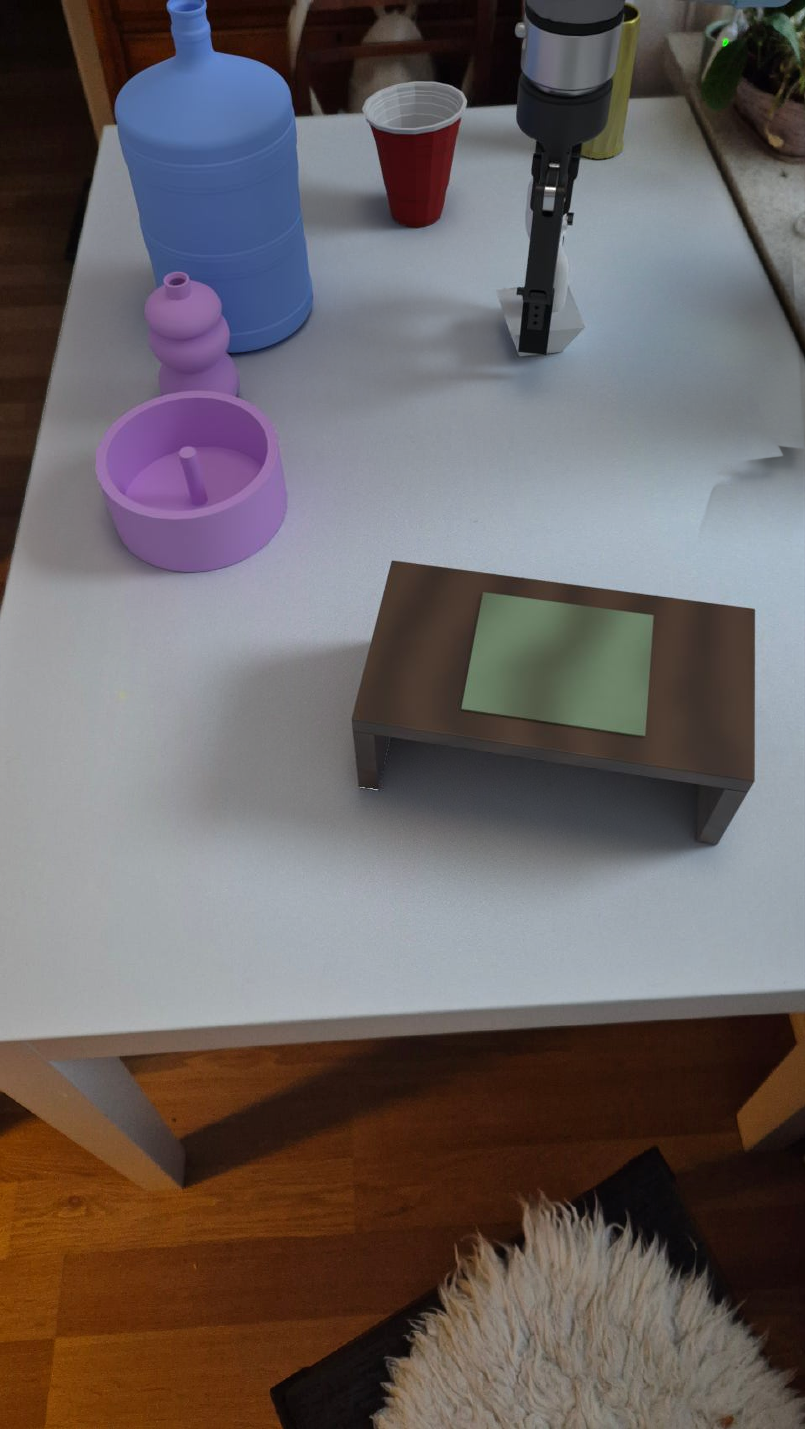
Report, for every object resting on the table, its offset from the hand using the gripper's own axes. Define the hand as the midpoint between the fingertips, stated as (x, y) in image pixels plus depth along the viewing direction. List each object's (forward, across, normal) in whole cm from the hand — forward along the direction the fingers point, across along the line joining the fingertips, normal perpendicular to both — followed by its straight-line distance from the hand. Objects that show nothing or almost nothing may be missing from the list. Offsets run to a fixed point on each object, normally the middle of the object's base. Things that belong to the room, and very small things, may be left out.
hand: (538, 319), depth 99 cm
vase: (+3, -37, +3) cm, 37 cm away
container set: (+3, +23, -28) cm, 36 cm away
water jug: (+3, 0, -31) cm, 31 cm away
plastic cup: (+3, -20, -16) cm, 26 cm away
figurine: (+3, 0, 0) cm, 3 cm away
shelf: (+3, +46, +6) cm, 46 cm away
